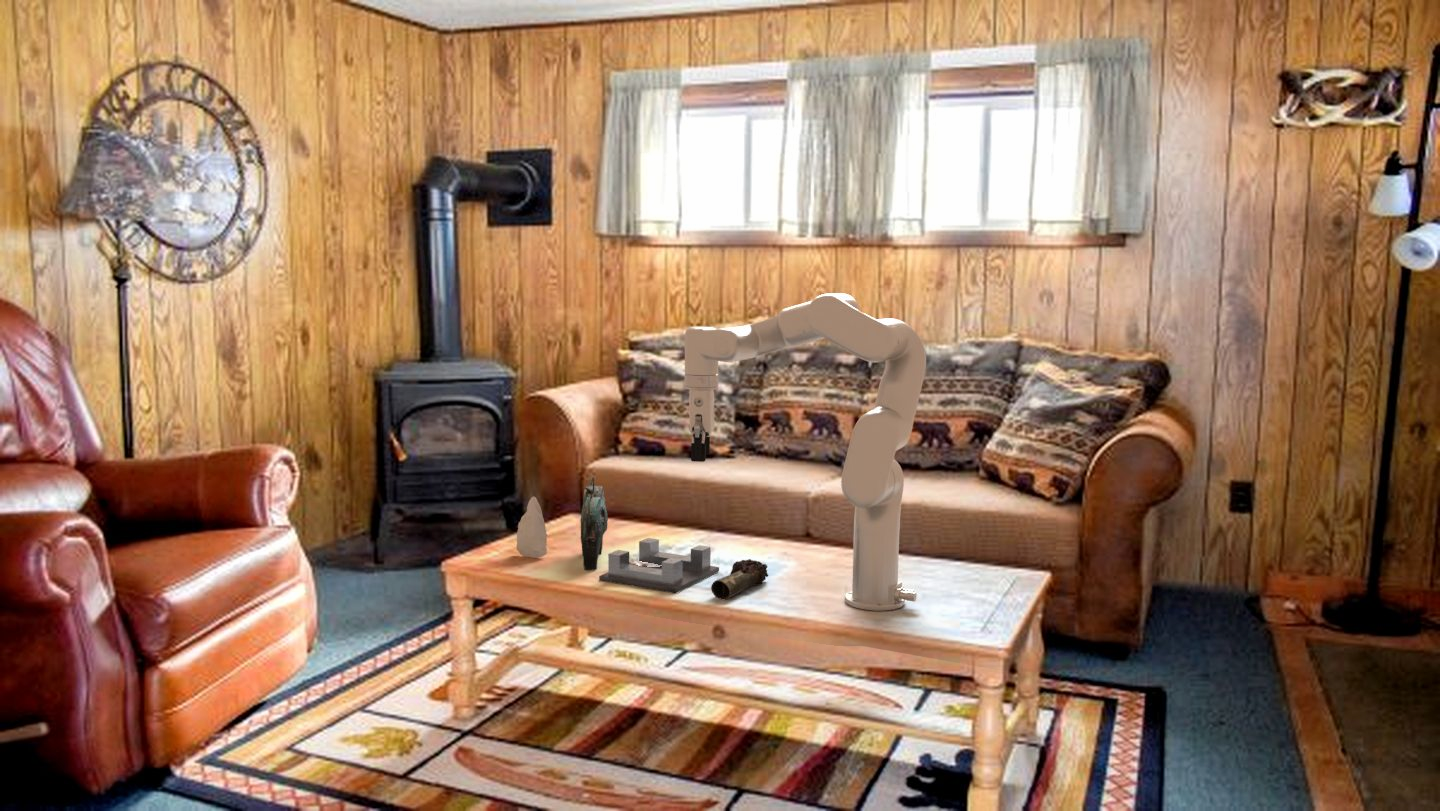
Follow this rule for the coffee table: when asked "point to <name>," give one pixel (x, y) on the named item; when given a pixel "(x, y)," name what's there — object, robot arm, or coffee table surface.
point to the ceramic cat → (593, 524)
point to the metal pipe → (739, 578)
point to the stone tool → (532, 532)
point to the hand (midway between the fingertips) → (700, 457)
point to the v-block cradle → (659, 568)
